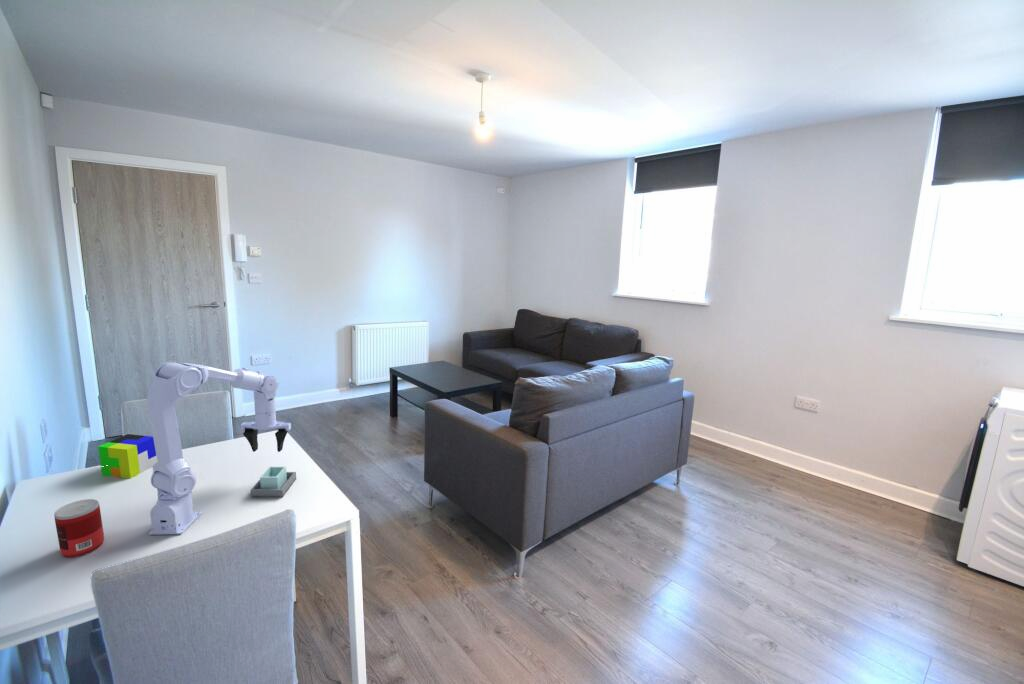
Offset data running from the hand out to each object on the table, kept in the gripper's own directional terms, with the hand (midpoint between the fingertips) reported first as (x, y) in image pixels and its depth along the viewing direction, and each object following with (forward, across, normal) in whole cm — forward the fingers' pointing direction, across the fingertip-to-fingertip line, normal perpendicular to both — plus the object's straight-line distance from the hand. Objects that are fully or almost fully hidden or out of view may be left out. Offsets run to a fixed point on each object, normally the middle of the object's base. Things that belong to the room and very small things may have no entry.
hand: (267, 450), depth 145 cm
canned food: (+10, +30, +34) cm, 46 cm away
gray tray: (+10, -4, +6) cm, 12 cm away
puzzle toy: (+10, +46, -6) cm, 47 cm away
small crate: (+9, -4, +6) cm, 12 cm away
